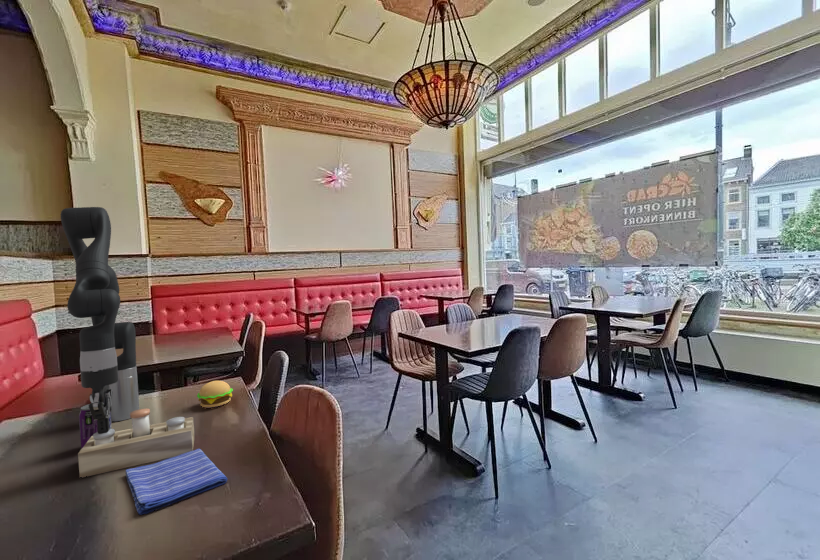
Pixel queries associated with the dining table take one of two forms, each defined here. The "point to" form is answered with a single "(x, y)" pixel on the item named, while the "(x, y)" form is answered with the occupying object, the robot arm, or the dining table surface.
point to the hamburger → (215, 394)
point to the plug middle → (140, 422)
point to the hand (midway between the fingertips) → (103, 432)
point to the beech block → (135, 448)
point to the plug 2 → (175, 423)
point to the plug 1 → (104, 437)
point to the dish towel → (172, 480)
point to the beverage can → (88, 424)
